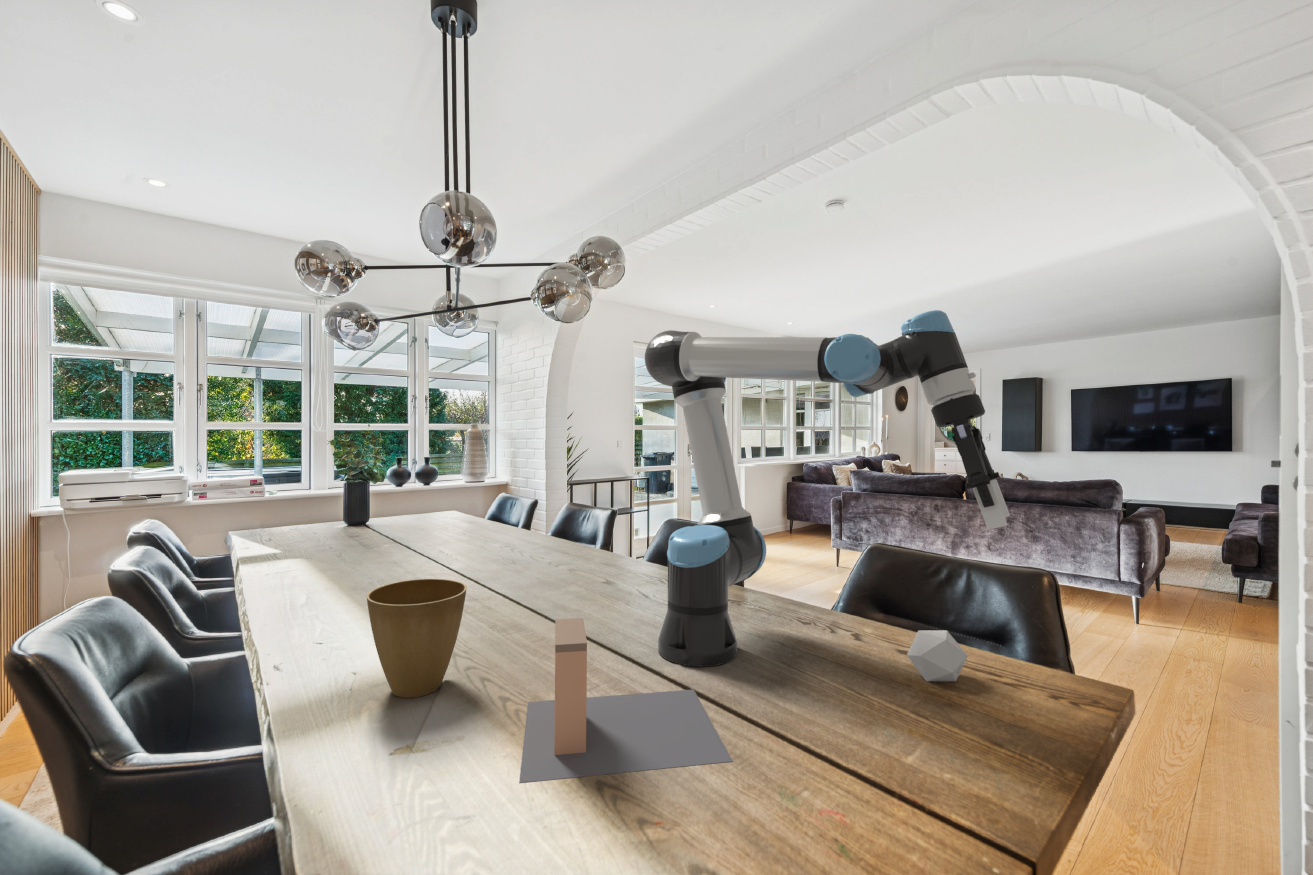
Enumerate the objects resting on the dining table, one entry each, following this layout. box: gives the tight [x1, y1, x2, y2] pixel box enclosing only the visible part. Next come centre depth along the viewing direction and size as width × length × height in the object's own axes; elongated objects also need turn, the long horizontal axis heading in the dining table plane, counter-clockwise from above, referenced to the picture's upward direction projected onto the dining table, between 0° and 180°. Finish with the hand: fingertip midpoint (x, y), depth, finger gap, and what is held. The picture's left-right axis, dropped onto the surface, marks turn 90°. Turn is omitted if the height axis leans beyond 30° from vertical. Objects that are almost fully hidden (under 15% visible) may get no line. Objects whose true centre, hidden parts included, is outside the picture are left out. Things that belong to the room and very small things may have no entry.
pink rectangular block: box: [554, 617, 588, 755], centre depth 75 cm, size 10×4×14 cm, turn 10°
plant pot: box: [366, 578, 467, 699], centre depth 90 cm, size 15×15×16 cm
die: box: [906, 629, 969, 682], centre depth 95 cm, size 8×9×10 cm
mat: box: [519, 689, 734, 784], centre depth 76 cm, size 20×26×1 cm
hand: (999, 522), depth 89 cm, fingers open, 13 cm apart
